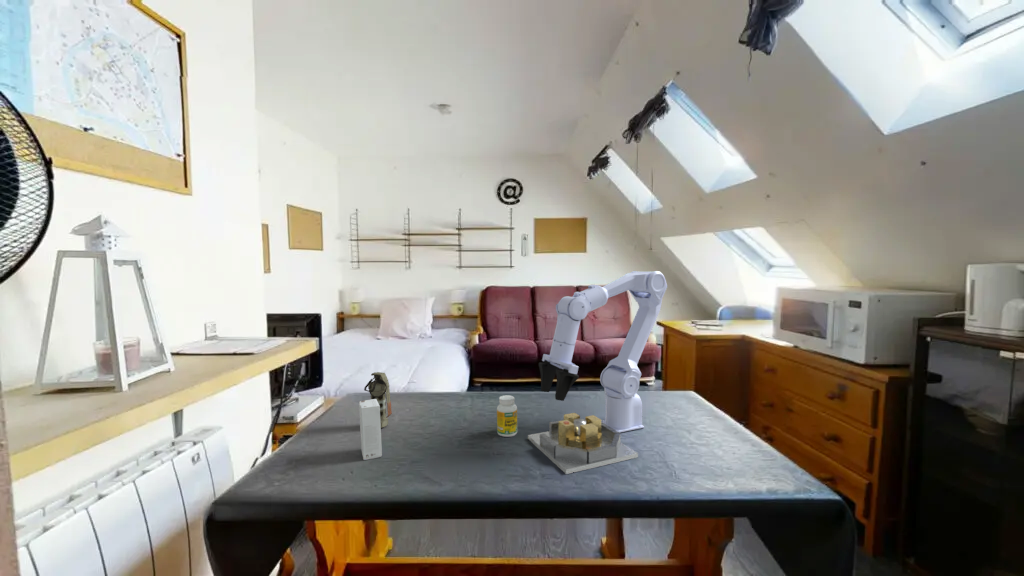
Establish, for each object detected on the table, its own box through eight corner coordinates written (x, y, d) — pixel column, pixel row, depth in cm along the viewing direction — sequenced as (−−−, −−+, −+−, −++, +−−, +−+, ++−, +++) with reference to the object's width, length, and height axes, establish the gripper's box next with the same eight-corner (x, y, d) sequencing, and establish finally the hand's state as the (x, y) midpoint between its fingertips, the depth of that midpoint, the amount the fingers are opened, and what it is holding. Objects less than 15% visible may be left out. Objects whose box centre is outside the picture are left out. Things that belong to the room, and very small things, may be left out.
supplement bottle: (510, 427, 108) (509, 393, 108) (521, 434, 104) (521, 398, 103) (493, 432, 105) (493, 396, 105) (504, 439, 101) (503, 402, 100)
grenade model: (360, 431, 106) (359, 376, 105) (378, 421, 112) (377, 370, 112) (380, 434, 104) (378, 378, 103) (397, 425, 110) (396, 372, 109)
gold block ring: (585, 431, 102) (586, 410, 102) (609, 447, 93) (609, 423, 93) (551, 437, 98) (551, 415, 98) (573, 455, 89) (573, 430, 89)
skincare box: (382, 457, 91) (381, 405, 91) (362, 461, 89) (360, 408, 89) (379, 446, 97) (378, 397, 96) (359, 450, 95) (358, 400, 94)
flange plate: (590, 427, 108) (590, 403, 108) (637, 457, 90) (638, 429, 90) (527, 438, 101) (527, 413, 100) (566, 474, 83) (566, 443, 83)
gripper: (537, 335, 105) (525, 385, 104) (565, 344, 92) (552, 402, 91) (559, 340, 108) (548, 389, 107) (589, 349, 95) (577, 405, 94)
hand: (551, 395), depth 99 cm, fingers open, 7 cm apart
